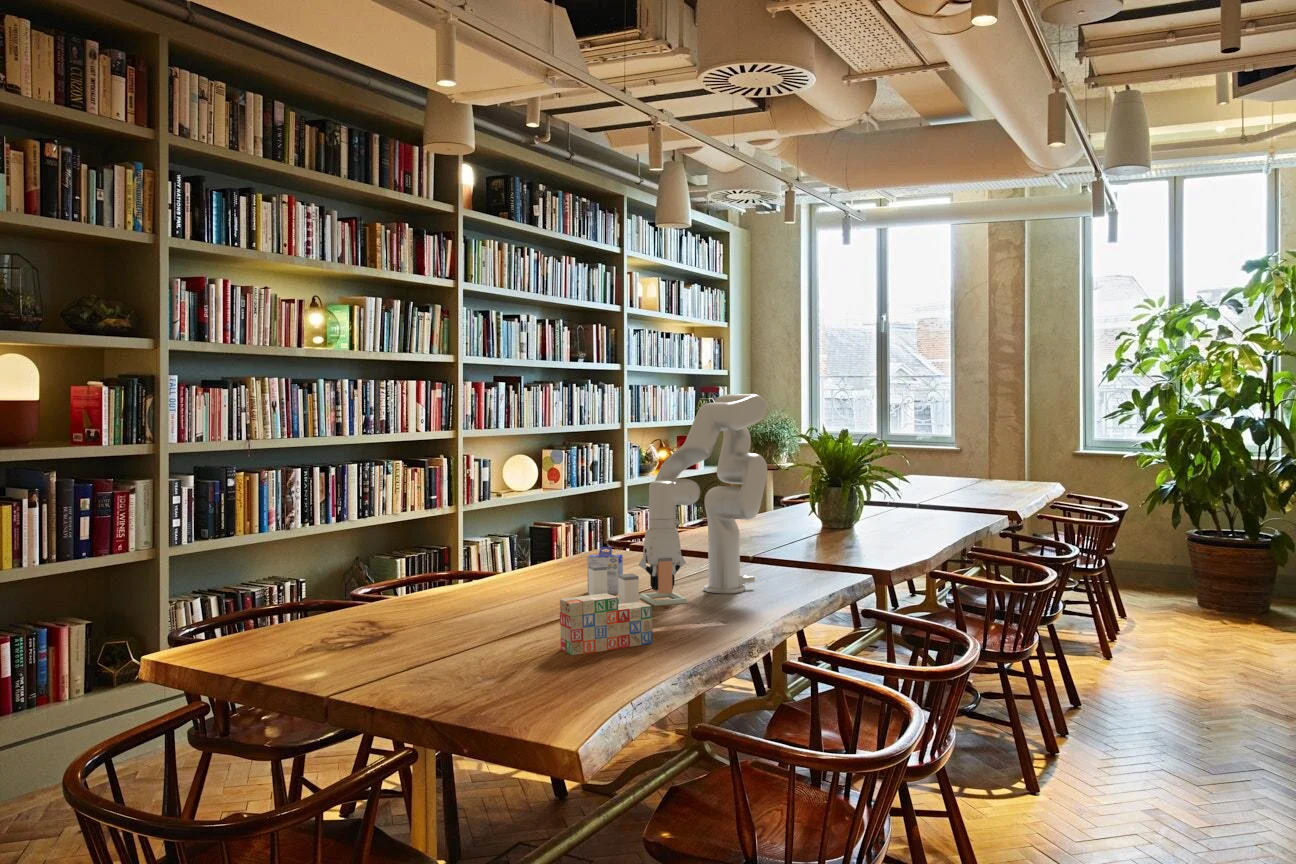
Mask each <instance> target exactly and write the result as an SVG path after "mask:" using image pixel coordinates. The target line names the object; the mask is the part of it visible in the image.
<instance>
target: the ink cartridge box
mask: <svg viewBox="0 0 1296 864" xmlns="http://www.w3.org/2000/svg"><path fill="white" fill-rule="evenodd" d="M599 547H600V548H599V552H598V554H590V555H588V556H587V561H586V562H587V594H589V565H600V564H602V565H604V566H606V567H607V594H610V595H619V577H618V574H624V571H623V569H624V567H623V565H624V564H623V563H624V562H623V559H624V558H623V554H612V552H613V549H612V548H613V547H612V546H599ZM603 550H609V551H603Z"/></svg>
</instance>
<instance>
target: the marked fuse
mask: <svg viewBox="0 0 1296 864" xmlns="http://www.w3.org/2000/svg"><path fill="white" fill-rule="evenodd" d="M656 576H657V577H658V590H654V589H652V592H654V593H656V592H657V593H659V594H662V593H672V592H673V589H672V558H663V559H659V562H658V567H657V572H656Z"/></svg>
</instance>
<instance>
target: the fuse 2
mask: <svg viewBox="0 0 1296 864" xmlns="http://www.w3.org/2000/svg"><path fill="white" fill-rule="evenodd" d="M618 577H619V594H618V599H619V604H623V603H633V602H640V599H639V598H640V593H639V591H640V590H639V588H640V585H639V581H640V580H639V577H640V576H638V575H636V574H634V573H623V574H618Z"/></svg>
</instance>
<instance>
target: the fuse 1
mask: <svg viewBox="0 0 1296 864" xmlns="http://www.w3.org/2000/svg"><path fill="white" fill-rule="evenodd" d="M604 593H607V567H606V566H604V565H602V564H600V565H589V593H588V595H596V594H604Z"/></svg>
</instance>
